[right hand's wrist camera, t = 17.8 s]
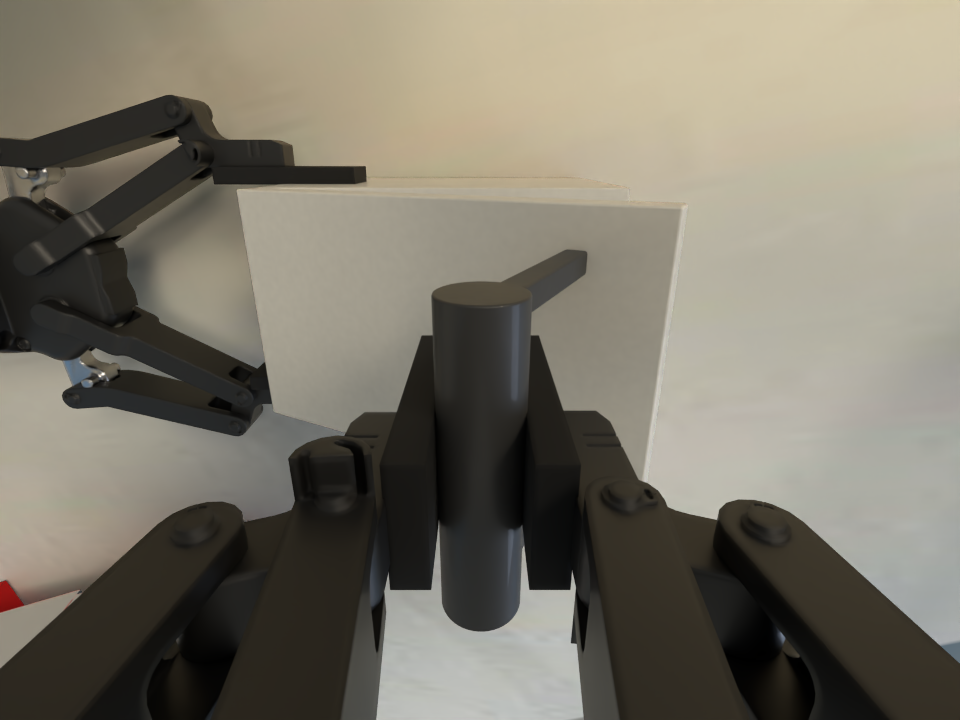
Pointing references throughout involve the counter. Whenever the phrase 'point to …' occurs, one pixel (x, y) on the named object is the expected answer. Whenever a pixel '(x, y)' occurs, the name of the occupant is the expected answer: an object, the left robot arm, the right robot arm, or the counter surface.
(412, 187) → the white open box
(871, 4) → the counter surface
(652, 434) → the lid
